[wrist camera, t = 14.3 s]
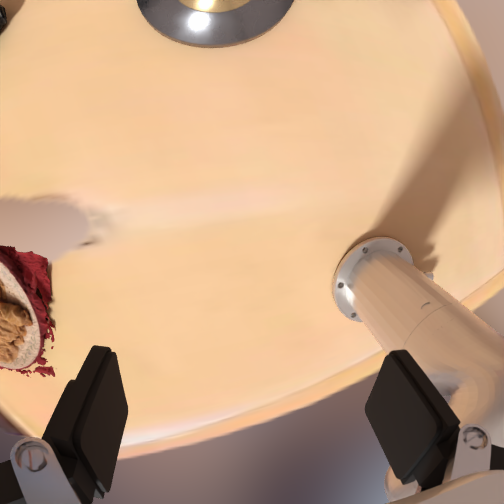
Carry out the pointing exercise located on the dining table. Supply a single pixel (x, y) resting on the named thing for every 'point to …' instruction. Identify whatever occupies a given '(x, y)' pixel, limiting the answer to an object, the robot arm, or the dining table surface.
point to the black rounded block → (2, 16)
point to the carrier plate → (213, 20)
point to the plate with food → (23, 310)
